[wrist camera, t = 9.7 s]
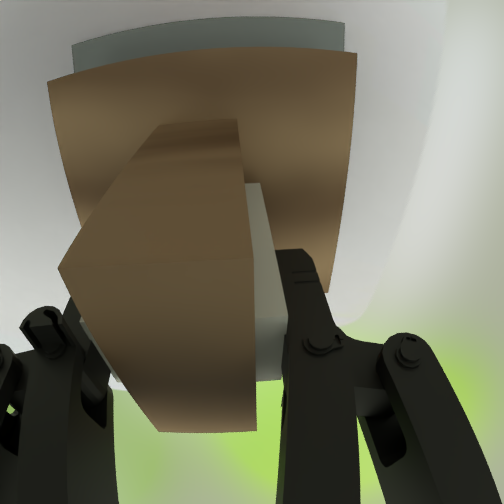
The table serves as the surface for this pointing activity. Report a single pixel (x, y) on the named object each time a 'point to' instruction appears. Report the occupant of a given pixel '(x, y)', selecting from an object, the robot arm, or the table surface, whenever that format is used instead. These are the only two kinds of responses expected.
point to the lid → (197, 210)
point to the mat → (208, 38)
